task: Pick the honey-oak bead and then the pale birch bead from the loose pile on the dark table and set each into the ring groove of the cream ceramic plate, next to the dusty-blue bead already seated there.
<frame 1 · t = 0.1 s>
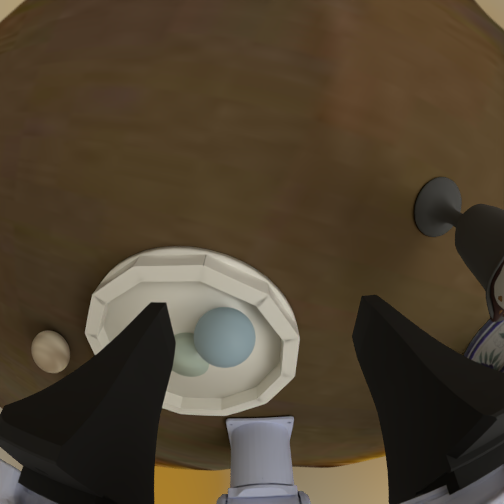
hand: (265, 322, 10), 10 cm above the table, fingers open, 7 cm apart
tray: (191, 341, 24), on the table
vase: (492, 340, 27), on the table
bead birch: (59, 337, 24), on the table
bead blue: (226, 317, 22), point 1 cm above the table, touching tray
sundae: (436, 207, 19), on the table
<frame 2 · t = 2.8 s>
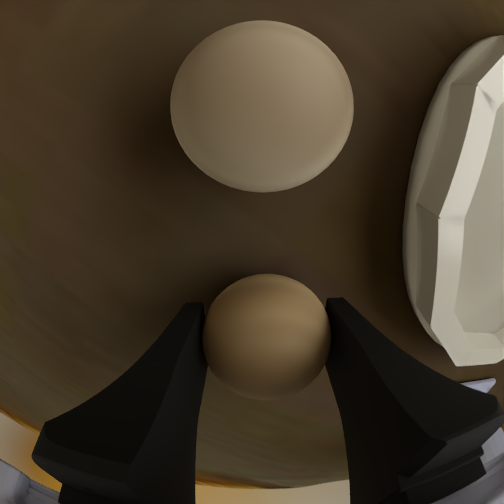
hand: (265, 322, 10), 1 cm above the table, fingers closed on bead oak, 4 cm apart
bead birch: (258, 107, 8), on the table
bead oak: (263, 300, 12), on the table, touching gripper
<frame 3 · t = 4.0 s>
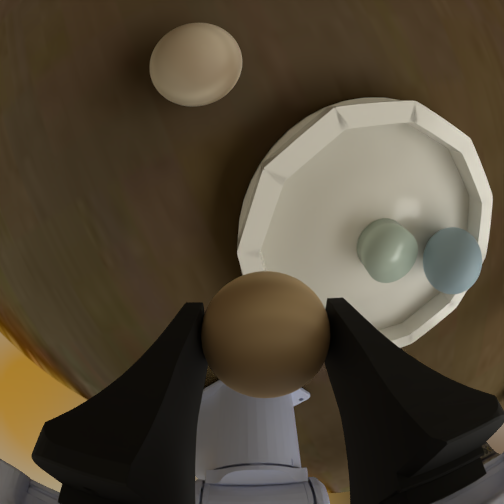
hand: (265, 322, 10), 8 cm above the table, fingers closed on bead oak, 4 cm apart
tray: (377, 239, 18), on the table
bead birch: (202, 70, 13), on the table
bead blue: (436, 246, 18), point 1 cm above the table, touching tray
bead oak: (261, 298, 12), point 7 cm above the table, touching gripper
when the fingers open (4 cm above the table, at t = 5.5 s): bead oak drops 1 cm, resting on tray.
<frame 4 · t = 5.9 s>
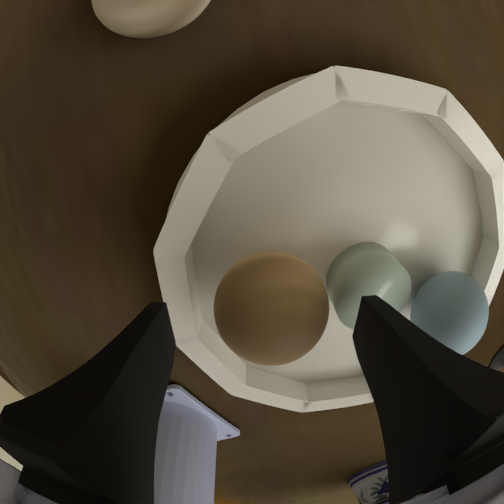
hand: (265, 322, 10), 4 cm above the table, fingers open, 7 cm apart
tray: (356, 268, 14), on the table
vase: (383, 469, 30), on the table
bead birch: (167, 4, 8), on the table
bead blue: (430, 290, 14), point 1 cm above the table, touching tray
bead oak: (259, 279, 13), point 1 cm above the table, tilted 9°, touching tray
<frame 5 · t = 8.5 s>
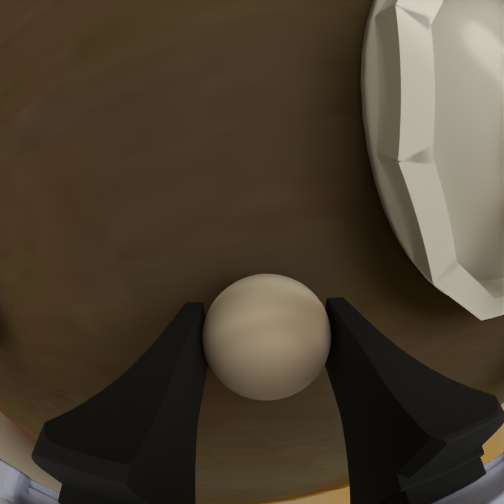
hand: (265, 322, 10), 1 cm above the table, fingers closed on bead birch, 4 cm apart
bead birch: (263, 300, 12), on the table, touching gripper
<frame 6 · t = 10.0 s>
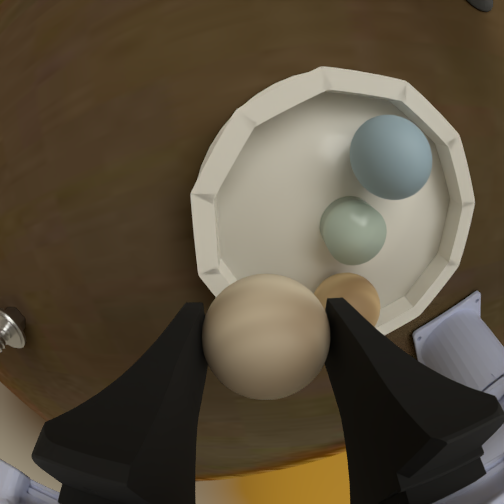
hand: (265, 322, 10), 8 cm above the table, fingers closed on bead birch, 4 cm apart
tray: (344, 219, 18), on the table
bead birch: (262, 300, 12), point 7 cm above the table, touching gripper
bead blue: (374, 150, 15), point 1 cm above the table, touching tray
bead oak: (336, 291, 19), point 1 cm above the table, tilted 7°, touching tray
screw: (17, 315, 21), on the table
when the fingers open (4 cm above the table, at t = 11.4 s): bead birch drops 1 cm, resting on tray.
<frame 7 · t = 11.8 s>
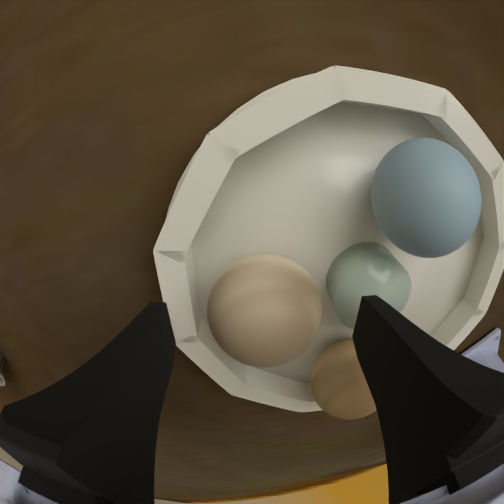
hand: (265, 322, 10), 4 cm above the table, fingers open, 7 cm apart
tray: (356, 268, 14), on the table
bead birch: (260, 280, 13), point 1 cm above the table, touching tray
bead blue: (400, 182, 11), point 1 cm above the table, touching tray
bead oak: (343, 349, 15), point 1 cm above the table, touching tray
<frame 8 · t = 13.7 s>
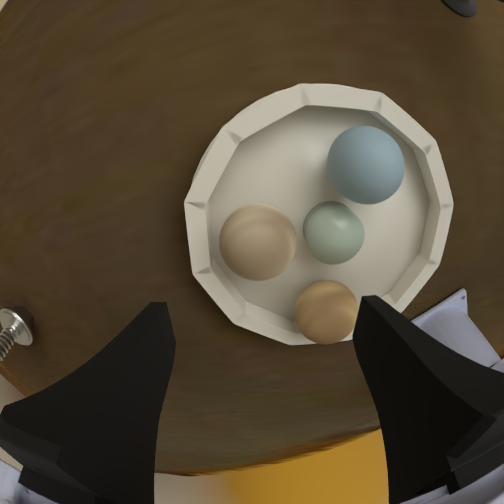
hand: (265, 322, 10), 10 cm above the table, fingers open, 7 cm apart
tray: (326, 222, 19), on the table
bead birch: (256, 227, 19), point 1 cm above the table, touching tray
bead blue: (352, 158, 17), point 1 cm above the table, touching tray
bead oak: (321, 289, 21), point 1 cm above the table, tilted 11°, touching tray
screw: (25, 314, 23), on the table
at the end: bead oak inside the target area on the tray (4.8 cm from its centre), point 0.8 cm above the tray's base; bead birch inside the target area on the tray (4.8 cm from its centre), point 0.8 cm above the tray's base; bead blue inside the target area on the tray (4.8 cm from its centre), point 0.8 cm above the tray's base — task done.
